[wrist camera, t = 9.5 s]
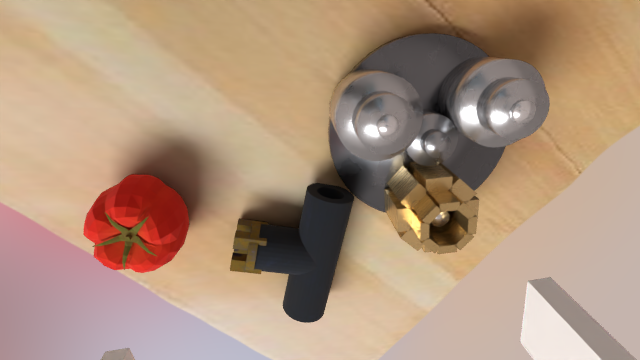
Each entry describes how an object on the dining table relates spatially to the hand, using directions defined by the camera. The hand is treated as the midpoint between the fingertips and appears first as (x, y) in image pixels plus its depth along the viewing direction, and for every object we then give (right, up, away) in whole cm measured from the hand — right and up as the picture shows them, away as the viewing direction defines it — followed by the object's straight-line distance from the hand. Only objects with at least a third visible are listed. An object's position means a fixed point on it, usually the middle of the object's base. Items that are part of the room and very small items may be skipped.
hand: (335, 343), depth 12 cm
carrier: (+10, +11, +26) cm, 30 cm away
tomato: (-19, +3, +27) cm, 33 cm away
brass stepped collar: (+11, +4, +27) cm, 30 cm away
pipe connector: (-4, -1, +30) cm, 30 cm away
